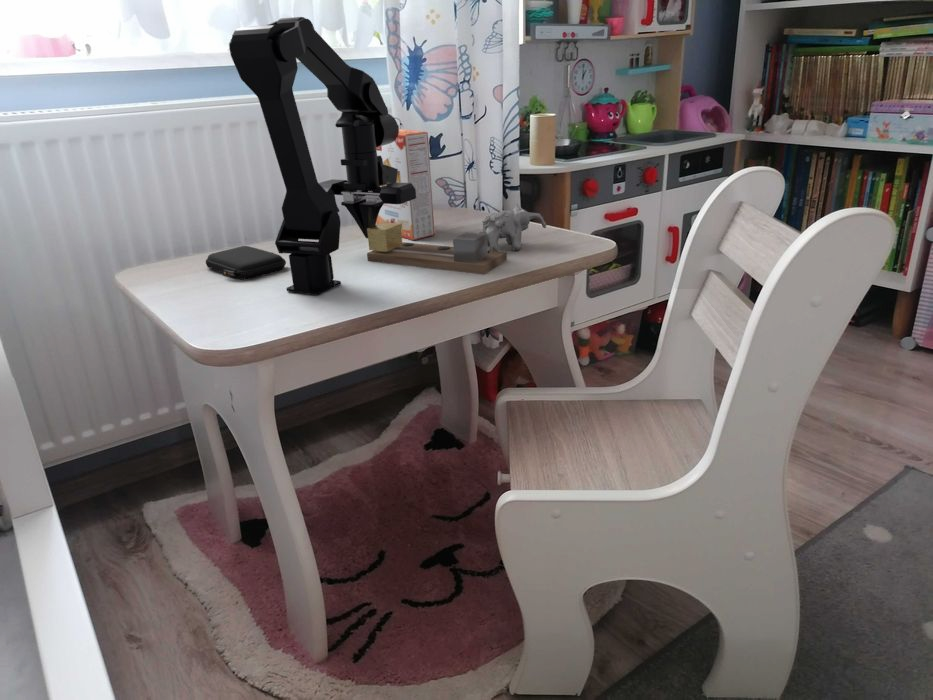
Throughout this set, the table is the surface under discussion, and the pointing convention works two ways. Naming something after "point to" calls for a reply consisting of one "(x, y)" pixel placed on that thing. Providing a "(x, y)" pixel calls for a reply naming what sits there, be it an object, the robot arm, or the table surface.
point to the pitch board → (445, 255)
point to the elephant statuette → (508, 226)
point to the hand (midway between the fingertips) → (369, 238)
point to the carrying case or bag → (245, 262)
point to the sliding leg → (385, 236)
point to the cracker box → (412, 168)
